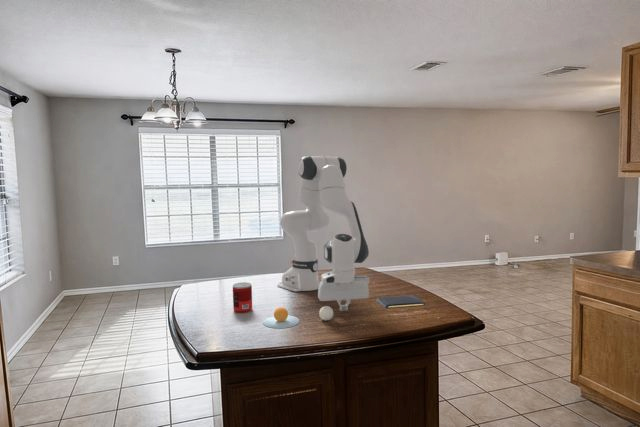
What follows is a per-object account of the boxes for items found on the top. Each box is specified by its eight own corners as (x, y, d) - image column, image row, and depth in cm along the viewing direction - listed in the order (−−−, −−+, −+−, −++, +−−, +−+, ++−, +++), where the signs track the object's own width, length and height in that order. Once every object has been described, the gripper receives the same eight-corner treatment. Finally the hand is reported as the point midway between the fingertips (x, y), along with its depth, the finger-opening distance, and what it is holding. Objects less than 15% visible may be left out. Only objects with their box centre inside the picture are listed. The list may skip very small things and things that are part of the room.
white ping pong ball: (332, 303, 163) (337, 313, 166) (320, 302, 166) (325, 312, 169) (326, 313, 159) (331, 324, 162) (314, 312, 162) (319, 322, 165)
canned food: (255, 308, 181) (254, 282, 180) (246, 314, 173) (245, 287, 172) (239, 306, 183) (238, 281, 182) (230, 312, 176) (229, 286, 175)
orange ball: (277, 303, 163) (290, 307, 163) (274, 308, 167) (287, 312, 168) (274, 316, 159) (288, 320, 160) (271, 321, 163) (284, 325, 164)
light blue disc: (255, 323, 162) (255, 323, 161) (279, 313, 173) (279, 313, 173) (283, 331, 153) (283, 330, 153) (306, 319, 165) (306, 319, 165)
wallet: (416, 293, 195) (429, 303, 180) (416, 297, 195) (429, 307, 180) (374, 296, 192) (384, 306, 177) (374, 300, 192) (384, 310, 177)
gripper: (366, 272, 171) (366, 305, 172) (317, 275, 167) (317, 309, 169) (371, 276, 164) (371, 311, 166) (319, 279, 161) (319, 314, 163)
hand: (343, 310), depth 167 cm, fingers closed
